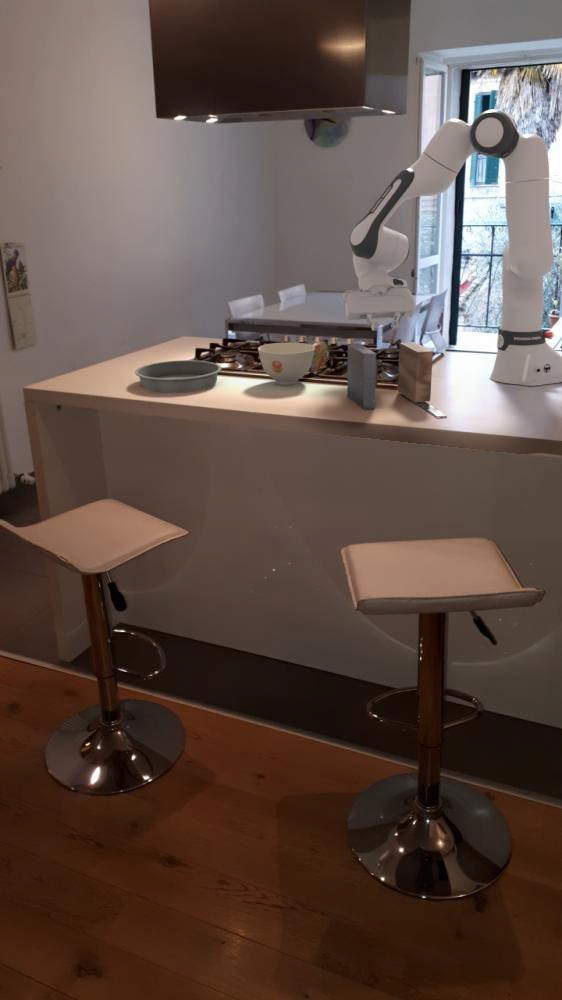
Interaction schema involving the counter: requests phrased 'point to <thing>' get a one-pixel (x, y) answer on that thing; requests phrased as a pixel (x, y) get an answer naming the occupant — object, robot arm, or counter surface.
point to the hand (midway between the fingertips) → (385, 328)
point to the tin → (319, 356)
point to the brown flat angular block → (415, 371)
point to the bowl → (286, 361)
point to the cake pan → (178, 375)
